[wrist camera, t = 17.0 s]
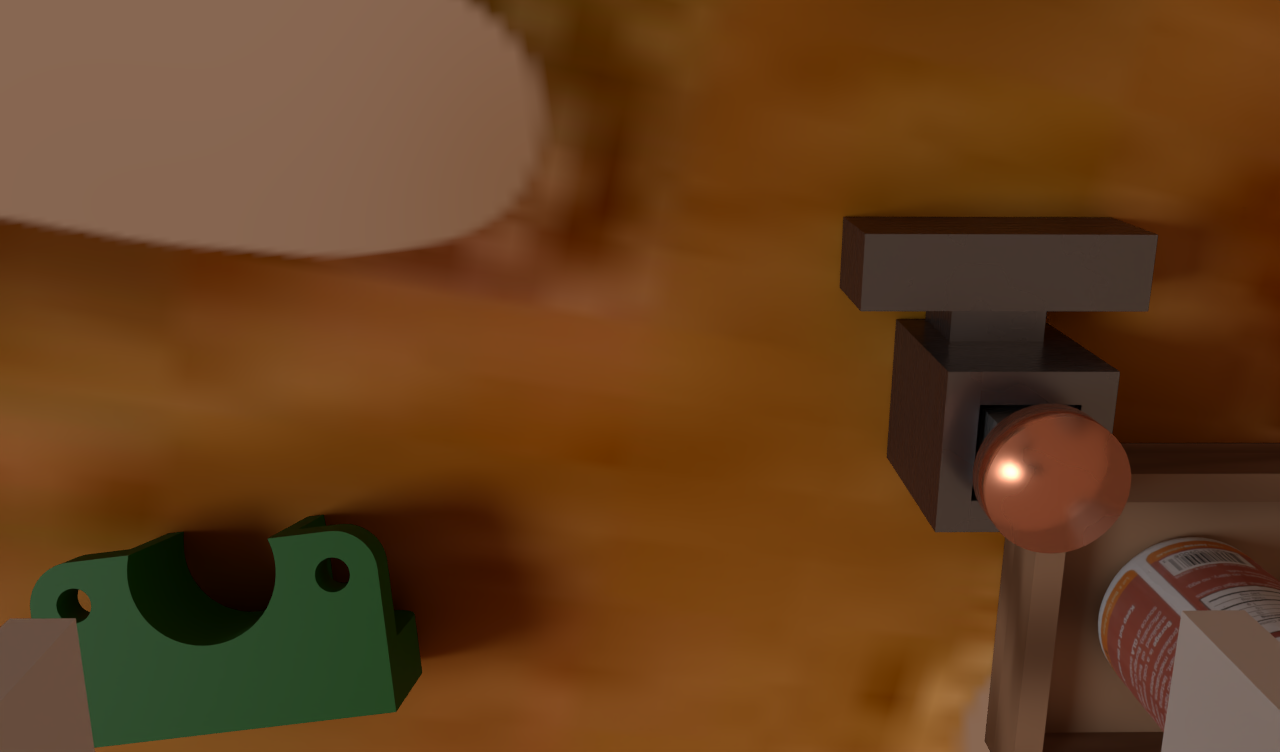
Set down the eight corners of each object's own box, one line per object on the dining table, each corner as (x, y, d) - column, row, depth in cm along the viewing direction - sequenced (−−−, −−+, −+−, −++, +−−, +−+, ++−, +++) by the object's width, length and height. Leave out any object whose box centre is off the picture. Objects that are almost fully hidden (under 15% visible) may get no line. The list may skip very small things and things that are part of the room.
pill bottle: (1159, 716, 44) (1335, 937, 33) (1057, 609, 43) (1205, 803, 32) (1297, 610, 43) (1524, 803, 32) (1196, 496, 41) (1398, 659, 31)
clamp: (376, 494, 47) (426, 516, 38) (395, 644, 47) (450, 699, 38) (36, 549, 42) (9, 589, 34) (60, 715, 42) (39, 796, 34)
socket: (862, -121, 36) (913, -152, 30) (1151, -118, 37) (1261, -148, 30) (830, 457, 42) (868, 532, 36) (1083, 456, 42) (1165, 531, 36)
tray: (1014, 443, 42) (1044, 474, 39) (1350, 443, 42) (1403, 473, 39) (984, 740, 45) (1010, 789, 42) (1295, 738, 45) (1341, 786, 43)
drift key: (924, 348, 39) (992, 417, 32) (1045, 348, 39) (1139, 416, 32) (915, 463, 40) (979, 553, 33) (1033, 462, 40) (1121, 553, 33)
